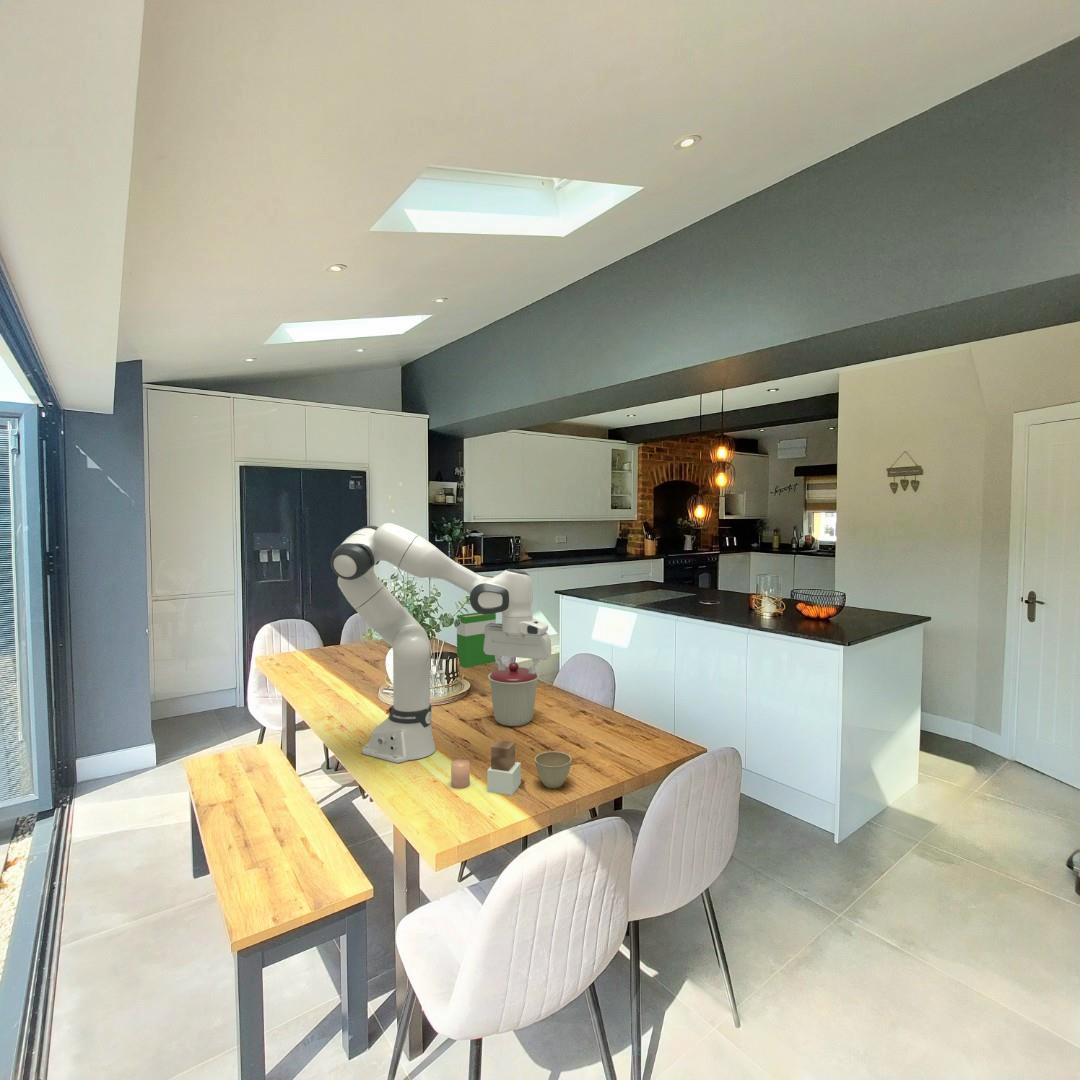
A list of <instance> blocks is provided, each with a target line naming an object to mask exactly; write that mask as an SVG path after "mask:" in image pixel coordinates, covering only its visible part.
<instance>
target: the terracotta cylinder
mask: <svg viewBox="0 0 1080 1080" xmlns="http://www.w3.org/2000/svg"><path fill="white" fill-rule="evenodd" d="M470 766H471V765H470V761H469V760H467V759H464V758H462V759H461V758H459V759H455V760H453V761H451V763H450V775H451V776H450V781H451V782H450V786H451V787H452V788H453V789H456V790H457V789H458V790H463V789H466V788H469V786H470V784H471V782H470V770H471V769H470Z"/></svg>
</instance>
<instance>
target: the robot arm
mask: <svg viewBox="0 0 1080 1080" xmlns="http://www.w3.org/2000/svg"><path fill="white" fill-rule="evenodd" d="M380 561H383V562H387V563H389V564H392V565H393V566H395V567H396V568H398V569H399V570H401V571H403V572H405V573H407V574H409V575H412V576H414V577H417V578H420V579H421V578H427V579H428V578H436V579H440V580H444V581H446V582H448V583H450V584H452V585H454V586H455V587H458V588H459V589H461V590H463V591H465V592H466V593H468V594H469V604H470V605H471V608H472V609H473V610H474V611H475V613H480V614H485V615H488V614H493V613H496V614H498V613H501V623H496V624H494V623H489V624H487V625H486V626H485V628H484V634H485V639H484V652H485V654H487V655H495V660H496V662H495V663H497V665H498V669H499V671H504V670H505V668H506V663H504V662H503V661H502V658H503V657H508V658H509V657H510V658H518V659H519V658H520V659H530V660H532V663H533V664H532V665H531V666H529V667H528V669H529V674H535V672H536V667H537V666H538V664H539V663H540V660H542V661H547V660H549V658H550V657H551V656H552V643H551V641H552V640H551V637H550V634H549V633H548V631H549V625H548V624H547V623H546V622H543V621H540V620H538V619H535V618H533V612H532V611H533V610H532V603H533V582H532V581H533V580H532V578H531V576H530V574H529V573H528V572H526V571H524V570H520V569H516V568H508V569H505V570H503V572H500V573H499V574H497V575H496V576H492V575H484V574H479V573H478V572H477V573H476V572H475V571H473V570H471V569H470V568H468V567H466V566H464V565H462V564H460V563H458V562H456V561H455V560H453V559H452V558H450V557H449V556H448V555H446V554H445V553H444V552H442V551H441V550H440V549H439V548H438V547H436V545H434V544H433V543H431V542H430V541H429V540H427V539H425V538H424V537H422V536H421V535H419V534H417V533H416V532H414V531H411V530H410V529H408V528H405V527H403V526H400V525H397V524H395V523H393V522H385V523H383V524H381V525H379V526H376V525H366V526H363V527H360V528H359V529H357V530H356V531H355V532H353V533H352V534H350V535H349V536H347V537H346V538H345V540H344V541H343V542H342V543H341V544H339V545H338V546H337V547H336V548H335V550H334V551H333V553H332V554H331V557H330V566H331V569H332V570H333V573H335V575H336V576H337V577H338V578H337V586H338V588H339V589H340V591H341V593H342V594H343V596H344V597H345V599H346V601H348V603H349V604H350V606H351V607H352V608H353V609H354V610H355V612H357V614H359V615H360V617H361V618H362V620H364V622H366V623H367V625H368V626H369V627H370V628H371V629H372V630H373V631H375V632H376V633H377V634H378V635H379V636H380V637H381V638H382V639H383V640H385V642H386V643H387V644H388V645H389V646H390V647H391V648H392V666H393V667H392V670H393V671H392V673H393V675H392V677H393V679H392V681H393V682H392V684H393V685H392V687H393V689H392V691H393V694H392V695H393V697H392V698H393V705H391V706H390V707H389V708H388V709H386V710H385V715H388V714H389V715H388V717H387V718H386V719H385V720H384V721H382V722H381V723H380V724H378V725H377V726H376V727H375V728H374V729H373V730H372V732H371V734H370V738H369V739H370V740H369V742H367V743H366V744H365V745H364V746H363V748H362V750H361V751H362V752H361V754H363V755H367V756H370V757H374V758H377V759H378V758H379V759H381V760H385V761H388V762H392V763H396V764H399V763H403V762H407V761H413V760H419V759H423V758H426V757H428V756H431V755H432V754H433V753H435V751H436V747H437V746H436V745H435V742H434V741H435V740H434V737H433V731H432V718H433V717H432V704H431V692H430V691H431V687H430V686H431V685H430V684H431V681H430V680H431V679H430V678H431V661H432V660H431V659H432V658H431V653H432V651H431V649H432V647H431V642H430V639H429V637H428V634H427V631H426V629H424V627H423V626H422V625H421V624H420V623H419V621H417V619H416V618H415V617H414V616H413V615H412V614H411V613H410V612H409V611H408V610H407V609H406V608H405V607H404V606H403V605H402V604H401V603H400V602H399V601H398V599H397V598H396V597H395V596H394V595H393V593H391V592H390V590H389V589H388V588H387V587H386V586H385V585H384V583H383V582H382V581H381V580H380V579H379V578H378V577H377V575H376V573H375V570H374V569H375V565H378V564H379V563H380Z"/></svg>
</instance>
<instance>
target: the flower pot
mask: <svg viewBox="0 0 1080 1080" xmlns="http://www.w3.org/2000/svg"><path fill="white" fill-rule="evenodd" d="M534 763H535V767H536V768H535V769H536V772H537V774H538V776H539V779H540V780H541V782H542V784H543V785H544V786H545V787H547V788H549V789H558V788H561V787H562V786H563V784H564V783H565V781H566V780H567V778H568V776H569V773H570V770H571V765H572V757H571V756H570V754H568V753H565V752H562V751H557V750H555V751H554V750H553V751H545V752H542V753H539V754H537V755H536V756H535V757H534Z"/></svg>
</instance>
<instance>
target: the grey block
mask: <svg viewBox="0 0 1080 1080" xmlns="http://www.w3.org/2000/svg"><path fill="white" fill-rule="evenodd" d="M521 764H522V763H521V762H518V761H515V765H514V766H513V767H512V768H511V769H510V770H509V771H502V770H495V769H491V766H489V767H488V769H487V771H486V772H487V773H486V776H487V777H486V778H487V781H486V782H487V785H486V786H487V787H486V790H487V792H488V793H494V794H500V795H507V796H513V795H514V794H515V792H516V791H517V789H518V788H519V786H521V784H522V783H521V782H522V768H521V767H522V765H521Z"/></svg>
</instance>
